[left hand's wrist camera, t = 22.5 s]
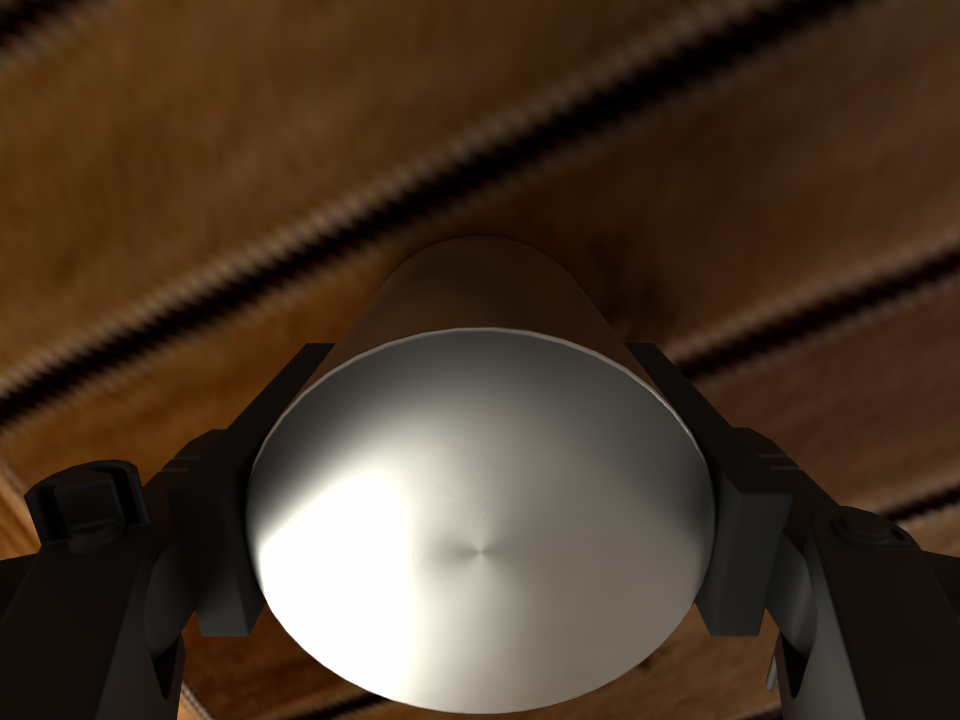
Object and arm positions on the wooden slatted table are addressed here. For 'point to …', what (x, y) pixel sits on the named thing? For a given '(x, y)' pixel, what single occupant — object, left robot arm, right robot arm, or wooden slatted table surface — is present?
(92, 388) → the wooden slatted table surface
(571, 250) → the wooden slatted table surface
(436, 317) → the canister
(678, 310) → the wooden slatted table surface
